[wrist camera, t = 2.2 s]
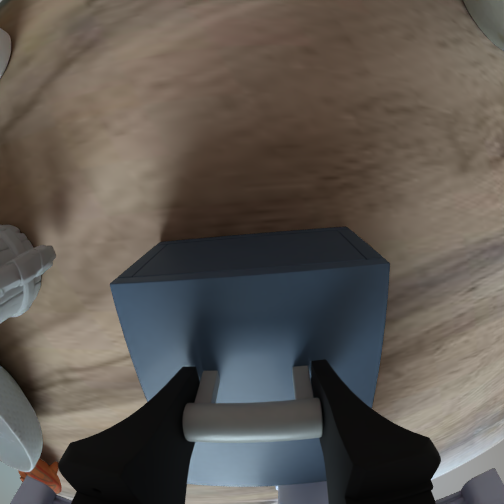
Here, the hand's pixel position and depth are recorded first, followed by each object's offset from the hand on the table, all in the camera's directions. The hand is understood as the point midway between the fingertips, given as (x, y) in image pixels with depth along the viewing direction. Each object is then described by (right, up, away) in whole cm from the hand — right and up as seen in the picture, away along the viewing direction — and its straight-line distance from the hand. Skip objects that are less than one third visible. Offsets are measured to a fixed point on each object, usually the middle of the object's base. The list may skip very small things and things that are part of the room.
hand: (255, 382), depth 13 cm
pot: (-30, -25, +17) cm, 42 cm away
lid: (0, -2, +2) cm, 3 cm away
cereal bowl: (-30, -10, +12) cm, 34 cm away
